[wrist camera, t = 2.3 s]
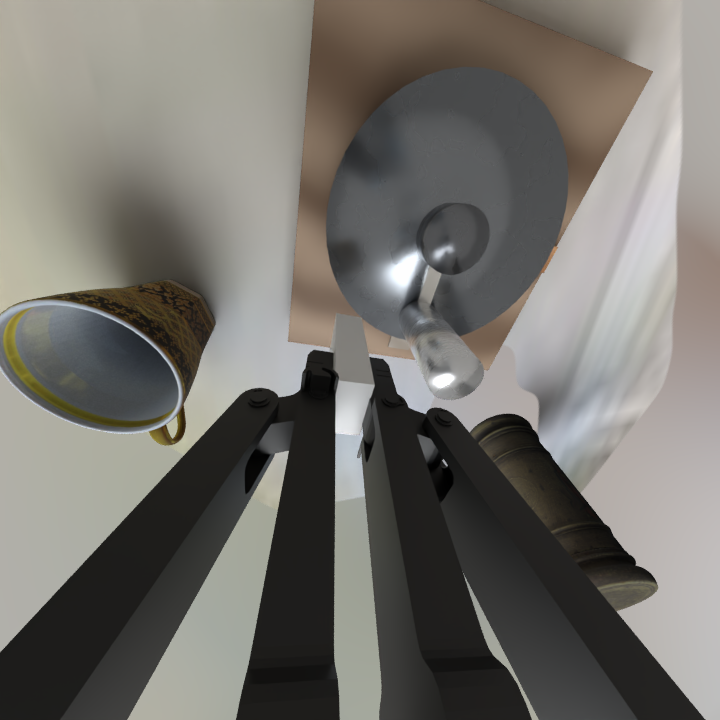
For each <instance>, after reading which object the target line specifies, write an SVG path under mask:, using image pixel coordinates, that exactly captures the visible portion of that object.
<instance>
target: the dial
mask: <svg viewBox="0 0 720 720" xmlns="http://www.w3.org/2000/svg"><path fill="white" fill-rule="evenodd" d="M567 196H568V165H567V156H566V151H565V147H564V143H563V138H562V136H561V133H560V131H559V128H558V126H557V123H556V121H555V119H554V118H553V116H552V114H551V113H550V111H549V110H548V108H547V106H546V105H545V104H544V103H543V101H542V100H541V99H540V98H539V97H538V96H537V95H536V94H535V92H534V91H532V90H531V89H530V88H528V87H527V86H526V85H524V84H523V83H522V82H520V81H519V80H517V79H515V78H513V77H511V76H509V75H507V74H505V73H503V72H499V71H495V70H491V69H487V68H480V67H459V68H452V69H445V70H441V71H438V72H435V73H432V74H429V75H426V76H423V77H421V78H419V79H417V80H416V81H414V82H412V83H410V84H408V85H406V86H404V87H403V88H401V89H400V90H399V91H397V92H396V93H395V94H393V95H392V96H391V97H389V98H388V99H387V100H385V101H384V102H383V103H382V104H381V105H380V106H379V107H378V108H377V109H376V110H375V111H374V112H373V113H372V114H371V115H370V116H369V118H368V119H367V120H366V121H365V123H364V124H363V125H362V127H361V128H360V129H359V130H358V132H357V133H356V135H355V136H354V138H353V140H352V141H351V143H350V145H349V146H348V148H347V150H346V151H345V154H344V156H343V158H342V160H341V163H340V165H339V167H338V169H337V172H336V175H335V178H334V181H333V185H332V188H331V192H330V197H329V202H328V208H327V219H326V239H327V249H328V255H329V261H330V265H331V268H332V271H333V274H334V277H335V280H336V282H337V284H338V286H339V288H340V291H341V292H342V294H343V295H344V297H345V299H346V300H347V302H348V303H349V304H350V306H351V307H352V308H353V309H354V310H355V312H356V313H357V314H358V315H359V316H360V317H362V318H363V319H364V320H365V321H366V322H367V323H369V324H370V325H372V326H373V327H374V328H376V329H378V330H380V331H382V332H384V333H385V334H388V335H390V336H393V337H396V338H399V339H404V340H406V341H407V343H408V345H409V347H410V349H411V351H412V353H413V356H414V358H415V360H416V362H417V364H418V366H419V368H420V370H421V372H422V375H423V377H424V379H425V381H426V383H427V385H428V387H429V389H430V391H431V393H432V394H433V395H434V396H436V397H438V398H440V399H444V400H455V399H459V398H462V397H465V396H467V395H468V394H470V393H471V392H473V391H474V390H475V389H476V388H477V387H478V386H479V384H480V383H481V381H482V379H483V376H484V367H483V364H482V363H481V361H480V360H479V359H478V358H477V357H476V356H475V354H474V353H473V352H472V351H471V350H470V349H469V347H468V346H467V345H466V344H465V343H464V342H463V340H462V339H461V338H460V336H462V335H465V334H468V333H470V332H473V331H475V330H477V329H479V328H481V327H483V326H485V325H486V324H488V323H489V322H491V321H493V320H494V319H496V318H497V317H498V316H500V315H501V314H502V313H504V312H505V311H506V310H508V309H509V308H510V307H511V306H512V305H513V304H514V303H515V302H516V301H517V300H518V299H519V298H520V297H521V296H522V295H523V294H524V293H525V292H526V290H527V289H528V288H529V287H530V286H531V284H532V283H533V282H534V280H535V279H536V278H537V276H538V275H539V273H540V272H541V270H542V268H543V267H544V265H545V263H546V262H547V260H548V258H549V256H550V254H551V252H552V250H553V248H554V246H555V243H556V240H557V238H558V235H559V232H560V230H561V226H562V222H563V218H564V214H565V210H566V203H567Z"/></svg>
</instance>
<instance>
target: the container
mask: <svg viewBox="0 0 720 720" xmlns="http://www.w3.org/2000/svg"><path fill="white" fill-rule="evenodd" d="M470 434H471V435H472V437H473V438H474V439H475V440H476V441H477V443H478V444H479V445H480V446H481V448H482V449H483V450H484V451H485V452H486V454H487V455H488V456H489V457H490V458H491V460H492V461H493V462H494V463H495V465H496V466H497V467H498V468H499V469H500V471H501V472H502V473H503V474H504V476H505V477H506V478H507V479H508V480H509V482H510V483H511V484H512V485H513V486H514V488H515V489H516V490H517V491H518V493H519V494H520V495H521V496H522V497H523V499H524V500H525V501H526V502H527V504H528V505H529V506H530V507H531V508H532V510H533V511H534V512H535V513H536V514H537V516H538V517H539V518H540V519H541V521H542V522H543V523H544V524H545V525H546V527H547V528H548V529H549V530H550V531H551V533H552V534H553V535H554V536H555V538H556V539H557V540H558V541H559V542H560V544H561V545H562V546H563V547H564V549H565V550H566V551H567V552H568V553H569V555H570V556H571V557H572V558H573V559H574V561H575V562H576V563H577V564H578V566H579V567H580V568H581V569H582V570H583V572H584V573H585V574H586V575H587V577H588V578H589V579H590V580H591V581H592V583H593V584H594V585H595V586H596V587H597V589H598V590H599V591H600V592H601V594H602V595H603V596H604V597H605V598H606V600H607V601H608V602H609V603H610V604H611V606H612V607H613V608H614V609H615V611H618V610H621V609H624V608H627V607H630V606H632V605H635V604H637V603H639V602H642V601H643V600H645V599H647V598H649V597H650V596H652V595H653V594H654V593H655V592H656V591H657V589H658V585H657V582H656V580H655V578H654V577H653V576H652V574H651V573H649V572H648V571H647V570H645V569H644V568H642V567H639V566H635V565H636V561H635V559H634V558H633V557H632V556H631V555H629V554H628V553H627V552H626V551H625V550H624V549H623V548H622V546H621V545H620V544H619V542H618V541H617V540H616V539H615V538H614V536H613V534H612V532H611V529H610V528H609V527H608V526H607V525H605V524H604V523H603V521H602V520H601V519H600V518H599V516H598V515H597V514H596V512H595V511H594V510H593V509H592V507H591V506H590V505H589V504H588V502H587V501H586V500H585V499H584V497H583V496H582V495H581V494H580V492H579V491H578V490H577V489H576V487H575V486H574V485H573V484H572V482H571V481H570V480H569V479H568V477H567V476H566V475H565V473H564V472H563V471H562V470H561V469H560V467H559V466H558V465H557V464H556V462H555V461H554V460H553V458H552V456H551V454H550V453H549V452H548V451H547V450H546V449H545V448H544V447H543V446H542V444H541V443H540V442H539V437H538V435H537V433H536V432H535V431H534V430H533V429H532V426H531V425H530V423H529V422H528V421H527V420H525V419H524V418H523V417H521V416H519V415H515V414H501V415H496V416H493V417H490V418H488V419H486V420H484V421H483V422H481V423H479V424H478V425H477V426H475V427H474V428H473V430H472V431H471V432H470Z"/></svg>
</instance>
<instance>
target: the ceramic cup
mask: <svg viewBox="0 0 720 720" xmlns="http://www.w3.org/2000/svg"><path fill="white" fill-rule="evenodd" d="M214 326H215V321H214V319H213V316H212V314H211V312H210V310H209V308H208V306H207V304H206V302H205V300H204V299H203V297H202V296H201V295H200V294H198V293H196V292H194V291H192V290H190V289H188V288H187V287H185V286H183V285H181V284H179V283H177V282H175V281H173V280H163V281H157V282H152V283H147V284H141V285H136V286H132V287H125V288H110V289H95V290H86V291H79V292H72V293H65V294H58V295H53V296H47V297H42V298H37V299H32V300H27V301H23V302H20V303H17V304H15V305H13V306H11V307H9V308H8V309H6V310H5V311H3V312H2V313H1V314H0V370H1V372H2V373H3V375H4V376H5V377H6V378H7V380H8V381H9V382H10V383H11V384H12V385H13V386H14V387H15V388H16V389H17V390H18V391H19V392H20V393H21V394H22V395H24V396H25V397H26V398H27V399H29V400H30V401H31V402H33V403H34V404H36V405H37V406H39V407H40V408H42V409H44V410H45V411H47V412H49V413H51V414H53V415H55V416H57V417H59V418H61V419H63V420H66V421H68V422H70V423H73V424H76V425H79V426H82V427H85V428H89V429H93V430H97V431H102V432H109V433H121V434H133V433H143V432H148V431H149V433H150V435H151V437H152V438H153V439H154V440H155V441H156V442H157V443H159V444H162V445H165V446H166V445H173V444H175V443H177V442H179V441H180V440H181V439H182V437H183V435H184V433H185V427H186V420H185V412H184V402H185V400H186V398H187V396H188V394H189V392H190V389H191V387H192V384H193V381H194V379H195V376H196V374H197V370H198V367H199V363H200V359H201V356H202V353H203V351H204V348H205V346H206V344H207V342H208V340H209V338H210V336H211V333H212V331H213V329H214ZM176 416H177V422H178V429H177V433H176V435H175V437H174V438H173V439H172V438H171V436H170V434H169V432H168V429H167V426H166V424H167V423H169V422H170V421H171V420H173V419H174V418H175V417H176Z"/></svg>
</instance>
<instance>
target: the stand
mask: <svg viewBox="0 0 720 720" xmlns="http://www.w3.org/2000/svg"><path fill="white" fill-rule="evenodd" d="M459 67H480V68H487V69H491V70H495V71H499V72H503V73H505V74H507V75H509V76H511V77H513V78H515V79H517V80H519V81H520V82H522V83H523V84H524V85H526V86H527V87H528V88H530V89H531V90H532V91H534V92H535V94H536V95H537V96H538V97H539V98H540V99H541V100H542V101H543V103H544V104H545V105H546V106H547V108H548V110H549V111H550V113H551V114H552V116H553V118H554V119H555V121H556V123H557V126H558V128H559V131H560V133H561V136H562V138H563V143H564V147H565V151H566V156H567V165H568V196H567V203H566V210H565V214H564V218H563V222H562V226H561V230H560V232H559V235H558V238H557V240H556V243H555V246H554V248H553V250H552V252H551V254H550V256H549V258H548V260H547V262H546V263H545V265H544V267H543V268H542V270H541V272H540V273H539V275H538V276H537V278H536V279H535V280H534V282H533V283H532V284H531V286H530V287H529V288H528V289H527V290H526V292H525V293H524V294H523V295H522V296H521V297H520V298H519V299H518V300H517V301H516V302H515V303H514V304H513V305H512V306H511V307H510V308H509V309H508V310H506V311H505V312H504V313H502V314H501V315H500V316H498V317H497V318H496V319H494V320H493V321H491V322H489V323H488V324H486V325H485V326H483V327H481V328H479V329H477V330H475V331H473V332H470V333H468V334H465V335H462V336H460V338H461V339H462V340H463V342H464V343H465V344H466V345H467V346H468V347H469V349H470V350H471V351H472V352H473V353H474V354H475V356H476V357H477V358H478V359H479V360H480V361H481V363H482V364H483V367H484V370H488V369H489V368H490V366H491V364H492V362H493V360H494V359H495V357H496V355H497V353H498V351H499V350H500V347H501V346H502V344H503V342H504V341H505V339H506V337H507V335H508V333H509V332H510V330H511V328H512V326H513V324H514V322H515V321H516V319H517V317H518V315H519V313H520V312H521V310H522V308H523V306H524V304H525V303H526V301H527V299H528V297H529V295H530V294H531V292H532V290H533V288H534V286H535V284H536V283H537V281H538V279H539V277H540V275H541V274H542V273H544V271H545V269H546V268H547V266H548V264H549V262H550V260H551V259H552V257H553V255H554V253H555V251H556V250H557V248H558V247H556V246H557V245H558V243H559V241H560V239H561V237H562V236H563V234H564V232H565V230H566V228H567V226H568V225H569V223H570V221H571V219H572V217H573V216H574V214H575V212H576V210H577V208H578V207H579V205H580V203H581V201H582V199H583V197H584V196H585V194H586V192H587V190H588V188H589V187H590V185H591V183H592V181H593V179H594V178H595V176H596V174H597V172H598V170H599V169H600V167H601V165H602V163H603V161H604V159H605V158H606V156H607V154H608V152H609V150H610V149H611V147H612V145H613V143H614V141H615V140H616V138H617V136H618V134H619V132H620V130H621V129H622V127H623V125H624V123H625V121H626V120H627V118H628V116H629V114H630V112H631V111H632V109H633V107H634V105H635V103H636V101H637V100H638V98H639V96H640V94H641V92H642V91H643V89H644V87H645V85H646V83H647V82H648V80H649V78H650V76H651V74H652V72H653V71H651V70H648V69H646V68H643V67H641V66H638V65H636V64H634V63H631V62H629V61H626V60H624V59H621V58H619V57H616V56H614V55H612V54H609V53H607V52H604V51H602V50H599V49H597V48H594V47H592V46H590V45H587V44H585V43H582V42H580V41H577V40H575V39H573V38H570V37H568V36H565V35H563V34H560V33H558V32H555V31H553V30H551V29H548V28H546V27H543V26H541V25H538V24H536V23H533V22H531V21H529V20H526V19H524V18H521V17H519V16H516V15H514V14H512V13H509V12H507V11H504V10H502V9H499V8H497V7H494V6H492V5H490V4H487V3H485V2H482V1H480V0H315V2H314V15H313V28H312V41H311V54H310V66H309V79H308V92H307V105H306V118H305V131H304V144H303V156H302V169H301V182H300V195H299V208H298V221H297V234H296V246H295V259H294V272H293V285H292V298H291V311H290V324H289V336H288V342H295V343H302V344H309V345H316V346H323V347H331V341H332V335H333V329H334V323H335V318H336V313H338V314H344V315H349V316H355V317H360V316H359V315H358V314H357V313H356V312H355V310H354V309H353V308H352V307H351V306H350V304H349V303H348V302H347V300H346V299H345V297H344V295H343V294H342V292H341V291H340V288H339V286H338V284H337V282H336V280H335V277H334V274H333V271H332V268H331V265H330V261H329V255H328V249H327V239H326V219H327V208H328V202H329V197H330V192H331V188H332V185H333V181H334V178H335V175H336V172H337V169H338V167H339V165H340V163H341V160H342V158H343V156H344V154H345V151H346V150H347V148H348V146H349V145H350V143H351V141H352V140H353V138H354V136H355V135H356V133H357V132H358V130H359V129H360V128H361V127H362V125H363V124H364V123H365V121H366V120H367V119H368V118H369V116H370V115H371V114H372V113H373V112H374V111H375V110H376V109H377V108H378V107H379V106H380V105H381V104H382V103H383V102H384V101H385V100H387V99H388V98H389V97H391V96H392V95H393V94H395V93H396V92H397V91H399V90H400V89H401V88H403V87H404V86H406V85H408V84H410V83H412V82H414V81H416V80H417V79H419V78H421V77H423V76H426V75H429V74H432V73H435V72H438V71H441V70H445V69H452V68H459ZM361 318H362V317H361ZM362 323H363V328H364V333H365V338H366V343H367V348H368V353H371V354H378V355H385V356H392V357H398V358H405V359H412V360H415V358H414V356H413V353H412V351H411V349H410V347H409V345H408V343H407V341H406V340H404V339H399V338H396V337H393V336H390V335H388V334H385V333H384V332H382V331H380V330H378V329H376V328H374V327H373V326H372V325H370V324H369V323H367V322H366V321H365V320H364V319H363V318H362Z"/></svg>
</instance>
